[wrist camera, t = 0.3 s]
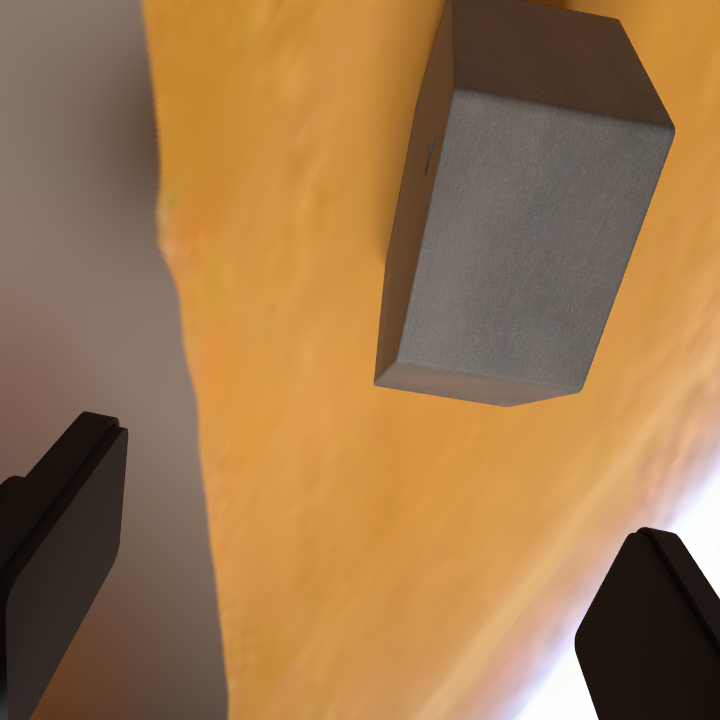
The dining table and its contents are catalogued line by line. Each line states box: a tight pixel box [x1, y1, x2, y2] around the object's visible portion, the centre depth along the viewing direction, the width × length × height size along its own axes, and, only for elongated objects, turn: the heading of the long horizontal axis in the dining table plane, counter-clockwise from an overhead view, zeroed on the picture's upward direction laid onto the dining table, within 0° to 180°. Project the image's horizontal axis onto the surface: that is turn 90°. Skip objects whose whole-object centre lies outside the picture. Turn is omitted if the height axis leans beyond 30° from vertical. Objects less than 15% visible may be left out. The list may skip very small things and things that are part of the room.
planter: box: [374, 0, 675, 407], centre depth 31 cm, size 17×8×21 cm
